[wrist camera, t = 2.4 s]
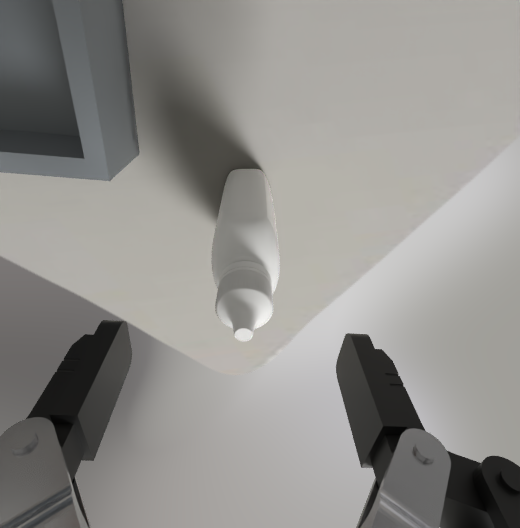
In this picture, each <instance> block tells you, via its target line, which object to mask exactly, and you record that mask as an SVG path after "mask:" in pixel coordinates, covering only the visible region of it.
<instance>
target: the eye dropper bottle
mask: <svg viewBox="0 0 520 528" xmlns="http://www.w3.org/2000/svg"><path fill="white" fill-rule="evenodd" d="M212 271H213V277H214V280H215V283H216V286H217V288H218V292H217V299H216V305H215V306H216V307H215V309H216V310H215V311H216V313H217V316H218V318H219V319H220V320H221V321H222V322H223V323H224V324H225V325H227V326H229V327H231V328H233V331H234V336H235V338H236V339H237V340H239V341H248V340H250V339H251V338H252V336H253V332H254V329H256V328H259V327H261V326H262V325H264V324H265V323H267V321H268V320H269V319H270V318H271V316H272V313H273V296H272V295H273V293H274V291H275V288H276V286H277V282H278V278H279V272H280V255H279V245H278V237H277V229H276V221H275V213H274V206H273V198H272V193H271V189H270V186H269V183H268V180H267V178H266V176H265V174H264V173H263V172H262V171H261V170H259V169H236V170H233V171H231V172H230V173H229V175H228V177H227V180H226V183H225V187H224V191H223V196H222V200H221V205H220V210H219V215H218V219H217V224H216V229H215V234H214V239H213V246H212Z"/></svg>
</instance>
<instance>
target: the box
mask: <svg viewBox="0 0 520 528" xmlns="http://www.w3.org/2000/svg"><path fill="white" fill-rule="evenodd" d="M138 155H139V146H138V137H137V128H136V119H135V111H134V102H133V93H132V84H131V75H130V66H129V57H128V48H127V39H126V30H125V21H124V13H123V4H122V0H0V172H4V173H17V174H29V175H42V176H54V177H67V178H79V179H92V180H104V181H110V180H111V179H112V178H113V177H115V176H116V175H117V174H118V173H119V172H120V171H121V170H122V169H123V168H124V167H126V166H127V165H128V164H129V163H130V162H131V161H132V160H133V159H134V158H136V157H137V156H138Z"/></svg>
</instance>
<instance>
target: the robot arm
mask: <svg viewBox="0 0 520 528" xmlns="http://www.w3.org/2000/svg"><path fill="white" fill-rule="evenodd" d="M131 359H132V349H131V344H130V338H129V332H128V326H127V323H126V322H125V321H108V320H103V321H102V322H101V323H100V325H99V326H98V328H97V330H96V332H95V334H94V335H87V334H85V335H84V336H83V337H81V338H80V339H79V340H78V341H77V342H76V343H74V344H73V345H72V346H71V348H70V349H69V351H68V353H67V354H66V356H65V358H64V361H62V363H61V364H60V366H59V368H58V369H57V372H55V374H54V375H53V377H52V379H51V381H50V382H49V384H48V385H47V387H46V388H45V390H44V392H43V393H42V395H41V397H40V398H39V400H38V401H37V403H36V405H35V406H34V408H33V410H32V411H31V413H30V414H29V416H28V417H27V418H26V419H25V420H22V421H20V422H18V423H16V424H14V425H13V426H11V427H10V428H8V429H7V430H6V431H5V432H4V433H3V434H2V435H1V436H0V528H91V525H90V522H89V519H88V516H87V512H86V509H85V505H84V502H83V499H82V496H81V492H80V489H79V486H78V482H77V479H76V476H75V474H76V472H77V469H78V467H79V465H80V462H81V460H91V461H93V460H94V458H95V456H96V453H97V450H98V448H99V445H100V442H101V440H102V438H103V435H104V432H105V430H106V427H107V425H108V422H109V420H110V417H111V414H112V411H113V409H114V407H115V404H116V401H117V399H118V396H119V393H120V391H121V389H122V386H123V383H124V380H125V378H126V376H127V373H128V371H129V367H130V364H131ZM336 373H337V379H338V383H339V386H340V390H341V394H342V397H343V401H344V404H345V409H346V412H347V416H348V420H349V423H350V427H351V431H352V435H353V438H354V442H355V446H356V449H357V453H358V457H359V460H360V464H361V467H362V468H373V470H374V473H375V476H376V478H375V480H374V483H373V485H372V488H371V490H370V493H369V496H368V498H367V501H366V503H365V506H364V509H363V511H362V514H361V516H360V519H359V522H358V524H357V527H356V528H439V527H440V528H520V467H519V466H518V465H516V464H515V463H513V462H511V461H510V460H508V459H505V458H502V457H499V456H489V457H487V458H485V460H483V462H482V463H478V462H476V461H473V460H470V459H468V458H465V457H462V456H459V455H456V454H453V453H451V452H449V451H447V450H446V449H445V447H444V446H443V445H442V443H441V442H440V441H439V440H438V439H437V438H435V437H434V436H433V435H431V434H430V433H428V432H426V431H425V429H424V427H423V425H422V423H421V421H420V419H419V417H418V415H417V413H416V410H415V408H414V406H413V404H412V402H411V400H410V397H409V395H408V393H407V391H406V389H405V387H403V382H402V380H401V378H400V376H398V372H397V370H396V367H395V365H394V363H393V361H392V360H391V359H390V358H389V357H388V356H387V355H386V354H385V352H384V351H383V350H382V349H375V348H374V346H373V344H372V341H371V339H370V337H369V336H368V335H367V334H346V336H345V338H344V341H343V344H342V347H341V350H340V353H339V356H338V360H337V365H336Z"/></svg>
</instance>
